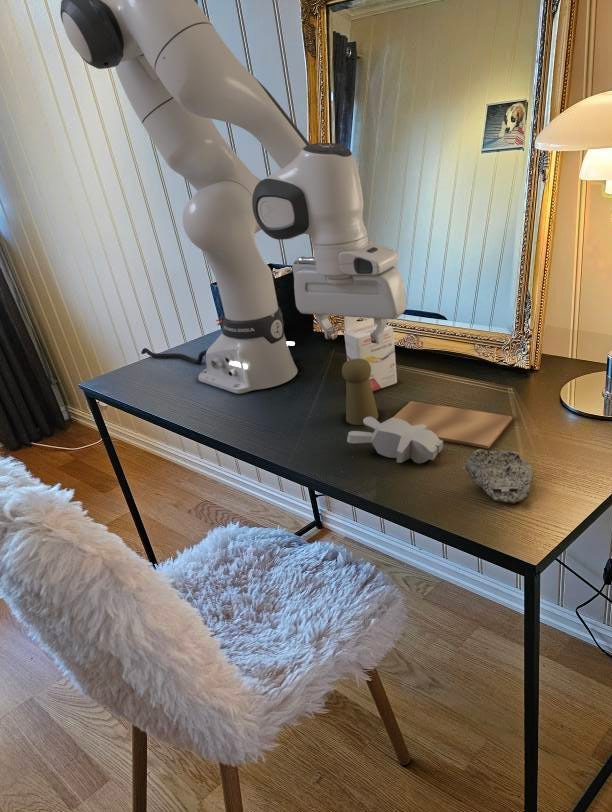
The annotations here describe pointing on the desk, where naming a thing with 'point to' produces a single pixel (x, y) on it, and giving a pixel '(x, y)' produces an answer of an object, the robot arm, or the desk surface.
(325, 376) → the desk surface
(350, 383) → the pepper shaker
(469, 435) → the cork mat
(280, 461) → the desk surface
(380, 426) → the bunny figurine
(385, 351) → the ink cartridge box
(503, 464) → the rock sample
